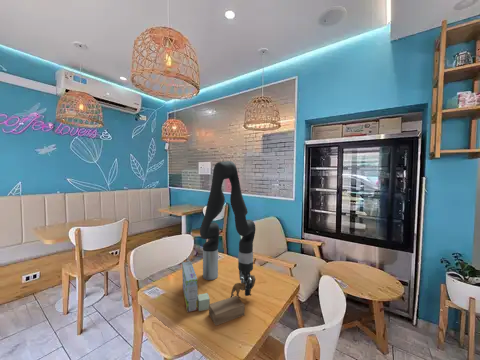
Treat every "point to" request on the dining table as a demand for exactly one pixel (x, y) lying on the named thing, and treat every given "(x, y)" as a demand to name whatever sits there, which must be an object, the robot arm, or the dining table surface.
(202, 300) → the sage cube
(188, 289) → the snack box
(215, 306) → the taupe rectangular block
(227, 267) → the dining table surface
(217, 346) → the dining table surface
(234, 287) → the lion figurine
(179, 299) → the dining table surface
